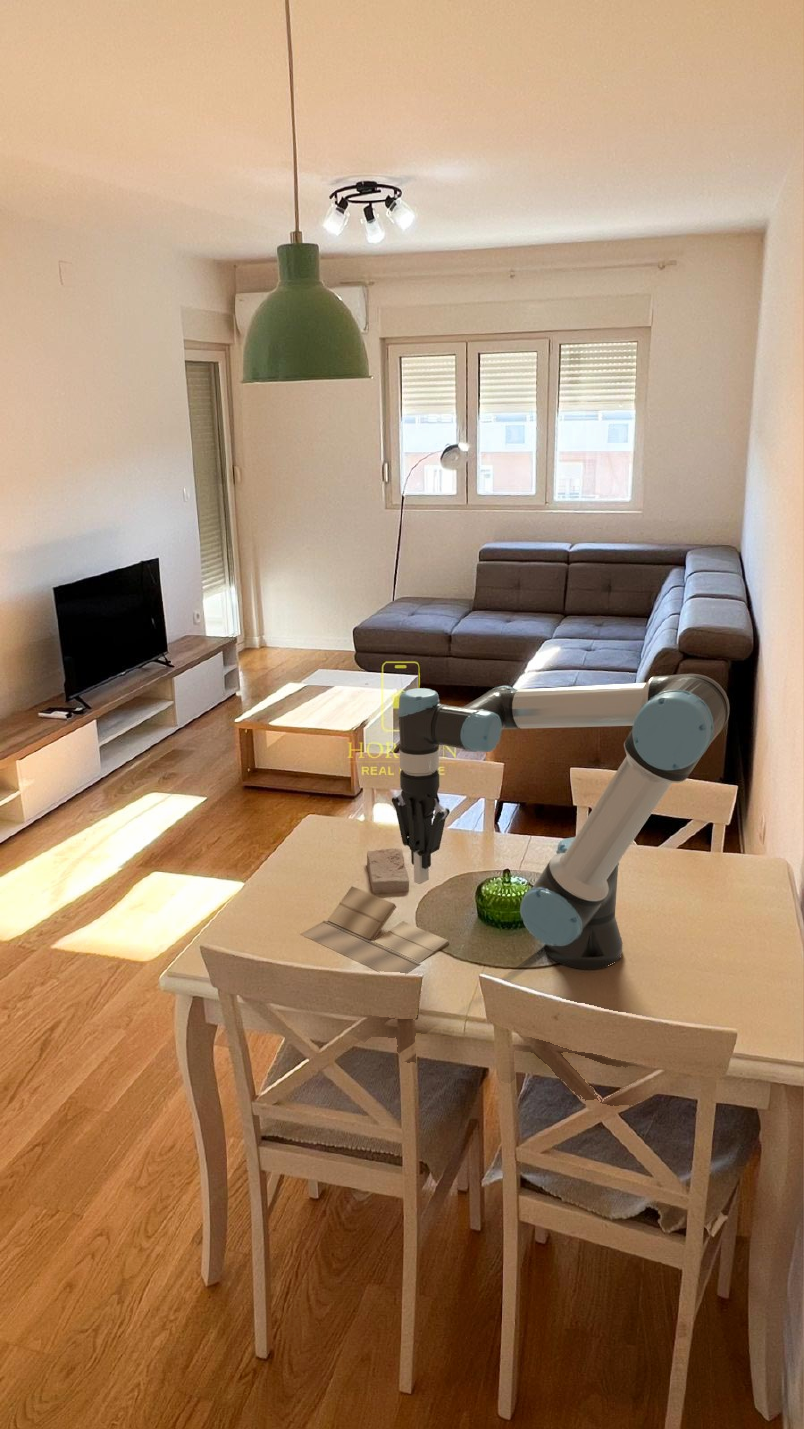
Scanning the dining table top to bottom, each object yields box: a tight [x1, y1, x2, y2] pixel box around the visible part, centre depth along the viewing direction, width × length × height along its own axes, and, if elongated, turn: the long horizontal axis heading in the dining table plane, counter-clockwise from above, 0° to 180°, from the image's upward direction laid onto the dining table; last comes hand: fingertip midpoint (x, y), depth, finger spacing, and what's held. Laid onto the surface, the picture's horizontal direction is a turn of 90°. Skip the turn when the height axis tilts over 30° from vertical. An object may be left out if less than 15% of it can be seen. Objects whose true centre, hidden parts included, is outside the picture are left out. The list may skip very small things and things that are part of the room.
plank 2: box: [373, 920, 450, 964], centre depth 198 cm, size 12×9×1 cm
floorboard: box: [299, 920, 422, 974], centre depth 196 cm, size 26×7×2 cm, turn 49°
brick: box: [366, 847, 410, 895], centre depth 226 cm, size 17×8×5 cm, turn 6°
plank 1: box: [327, 885, 397, 941], centre depth 205 cm, size 12×9×1 cm
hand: (421, 880), depth 196 cm, fingers closed
